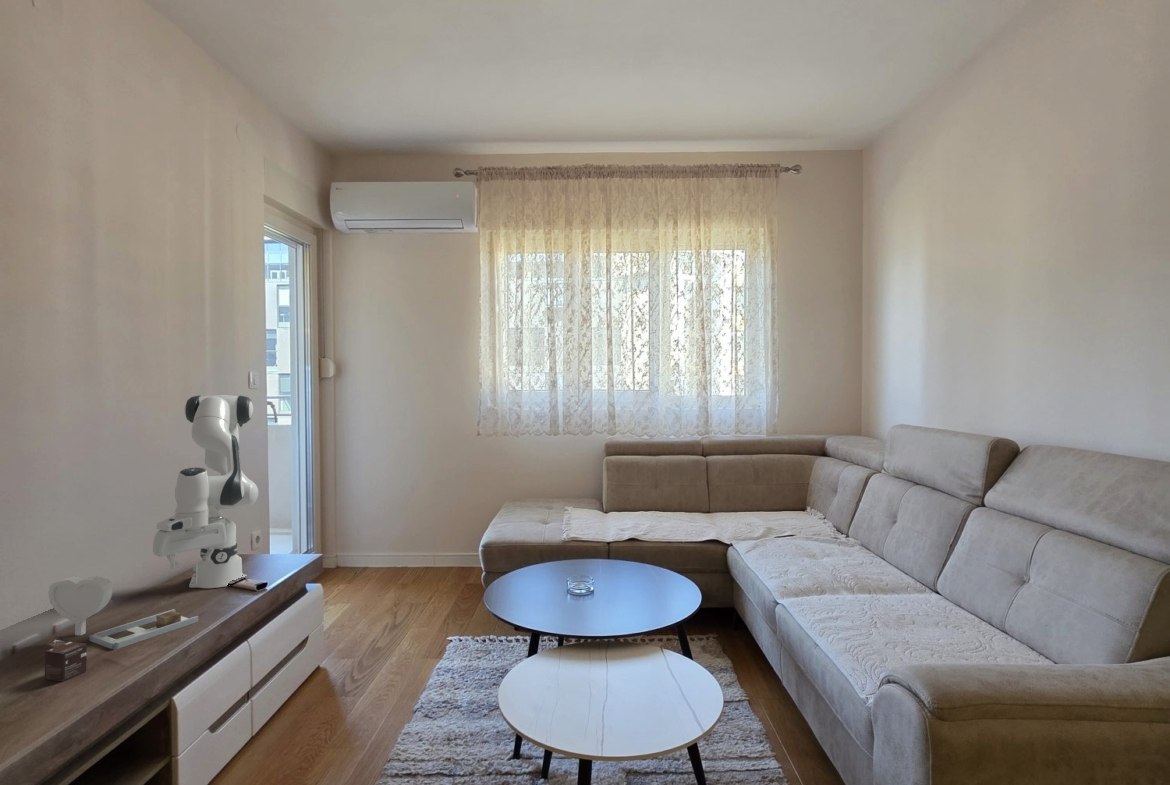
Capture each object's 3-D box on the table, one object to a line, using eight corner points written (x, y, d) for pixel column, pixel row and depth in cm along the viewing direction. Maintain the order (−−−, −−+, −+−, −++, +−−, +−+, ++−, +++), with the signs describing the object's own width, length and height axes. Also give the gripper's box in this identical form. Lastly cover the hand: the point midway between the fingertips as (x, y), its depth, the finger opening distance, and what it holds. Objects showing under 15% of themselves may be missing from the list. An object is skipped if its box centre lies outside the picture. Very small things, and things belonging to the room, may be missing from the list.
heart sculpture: (45, 642, 172) (46, 580, 172) (60, 635, 177) (60, 575, 177) (101, 642, 173) (101, 581, 173) (114, 635, 178) (114, 575, 178)
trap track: (113, 655, 165) (114, 644, 165) (88, 645, 171) (88, 635, 171) (198, 626, 186) (198, 616, 186) (173, 618, 192) (173, 609, 192)
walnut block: (165, 630, 179) (165, 618, 179) (156, 627, 181) (156, 615, 181) (180, 624, 183) (180, 613, 183) (171, 622, 185) (172, 611, 185)
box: (62, 682, 150) (62, 653, 150) (43, 679, 151) (43, 650, 151) (87, 671, 156) (87, 643, 156) (68, 668, 157) (69, 641, 157)
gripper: (219, 514, 198) (218, 556, 197) (150, 524, 180) (149, 570, 179) (230, 516, 195) (230, 558, 194) (161, 527, 177) (160, 573, 176)
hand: (190, 564), depth 187 cm, fingers open, 8 cm apart
